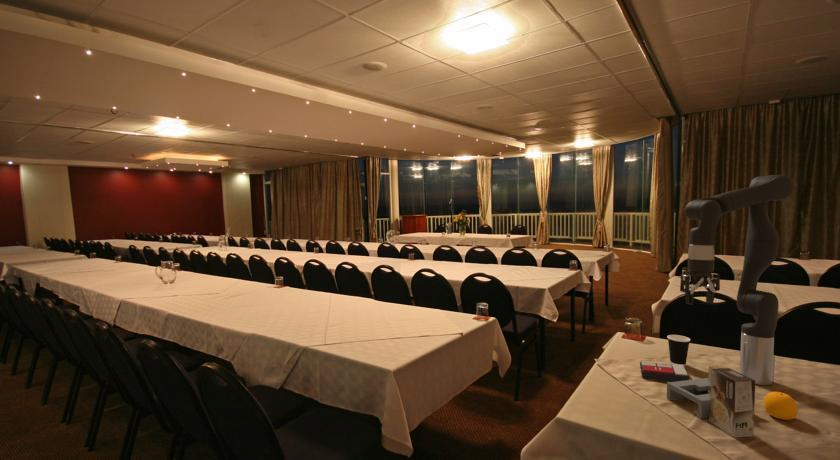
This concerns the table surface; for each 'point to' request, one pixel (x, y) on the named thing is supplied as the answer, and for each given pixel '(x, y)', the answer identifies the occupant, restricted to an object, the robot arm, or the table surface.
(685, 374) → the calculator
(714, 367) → the peg
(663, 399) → the table surface
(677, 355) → the dixie cup
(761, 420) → the table surface
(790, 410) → the orange
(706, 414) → the keyhole plate
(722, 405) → the coffee box
